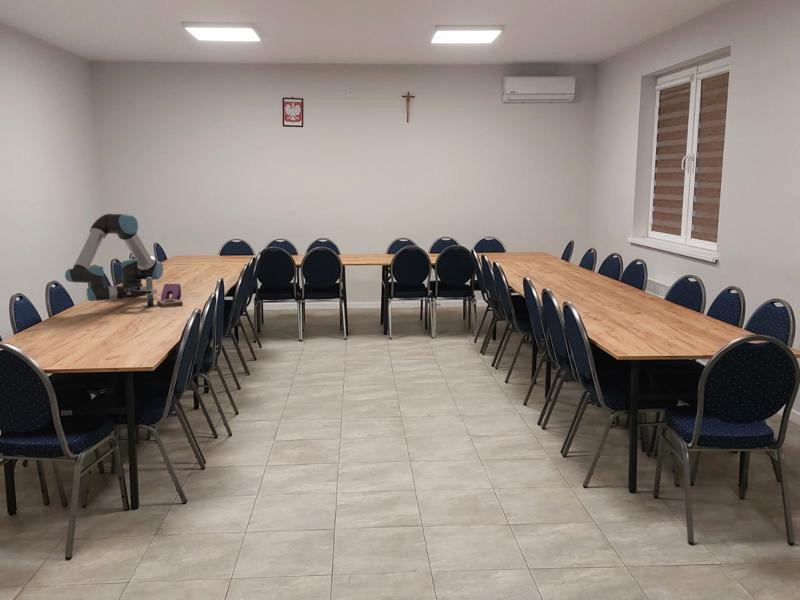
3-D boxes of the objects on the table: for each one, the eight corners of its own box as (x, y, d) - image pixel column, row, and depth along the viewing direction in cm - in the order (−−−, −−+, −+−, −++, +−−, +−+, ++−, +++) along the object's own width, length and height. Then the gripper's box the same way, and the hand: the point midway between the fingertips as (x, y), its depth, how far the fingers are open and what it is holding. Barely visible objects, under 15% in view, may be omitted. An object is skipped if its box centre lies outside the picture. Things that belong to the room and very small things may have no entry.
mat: (141, 306, 430) (141, 305, 430) (155, 304, 435) (155, 304, 435) (145, 308, 422) (145, 308, 422) (159, 307, 426) (159, 306, 426)
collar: (157, 304, 435) (157, 300, 435) (177, 303, 441) (177, 299, 441) (162, 307, 425) (161, 303, 425) (182, 306, 431) (182, 301, 431)
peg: (146, 305, 429) (145, 277, 426) (152, 305, 431) (151, 277, 428) (148, 306, 426) (146, 278, 423) (154, 306, 428) (152, 277, 425)
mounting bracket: (177, 311, 447) (181, 294, 461) (175, 300, 442) (180, 283, 456) (161, 311, 446) (166, 294, 460) (159, 300, 441) (164, 283, 455)
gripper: (112, 296, 428) (149, 293, 439) (120, 302, 407) (159, 299, 418) (111, 283, 427) (148, 280, 438) (119, 289, 406) (158, 286, 417)
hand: (154, 289), depth 428 cm, fingers open, 13 cm apart
